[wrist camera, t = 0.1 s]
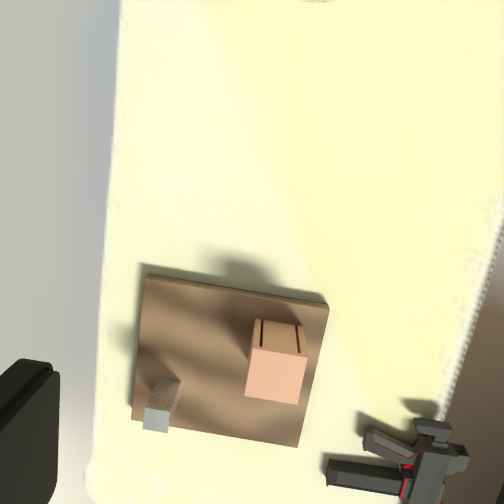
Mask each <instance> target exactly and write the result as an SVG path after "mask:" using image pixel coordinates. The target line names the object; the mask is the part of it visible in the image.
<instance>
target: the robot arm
mask: <svg viewBox="0 0 504 504" xmlns="http://www.w3.org/2000/svg"><path fill="white" fill-rule="evenodd" d="M305 1H309V2H328V1H333V0H305ZM59 402H60V374H59V372H57V371H53V367H52V365H51V364H50V363H48V362H42V361H36V360H29V359H19V360H17V361H16V362H15V363H14V364H13V365H12V366H10V368H8V369H7V370H6V371H5V372H4V373H3V374H2V375H0V504H48V502H49V501H50V499H51V497H52V495H53V493H54V490H55V487H56V483H57V473H58V472H57V471H58V438H59V436H58V435H59ZM496 504H504V483H503V486H502V488H501V491H500V493H499V496H498V498H497V501H496Z"/></svg>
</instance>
